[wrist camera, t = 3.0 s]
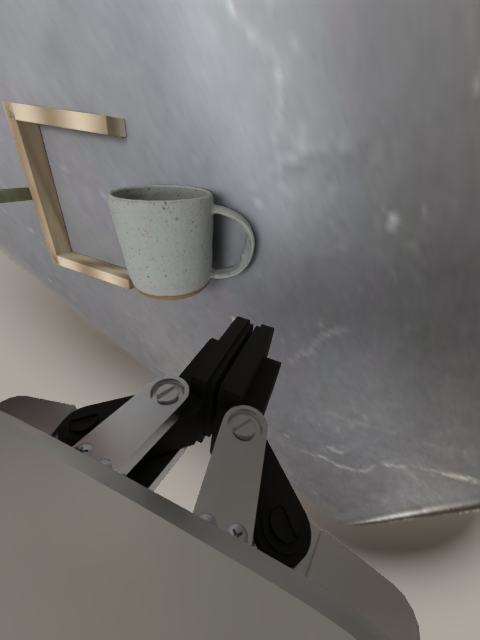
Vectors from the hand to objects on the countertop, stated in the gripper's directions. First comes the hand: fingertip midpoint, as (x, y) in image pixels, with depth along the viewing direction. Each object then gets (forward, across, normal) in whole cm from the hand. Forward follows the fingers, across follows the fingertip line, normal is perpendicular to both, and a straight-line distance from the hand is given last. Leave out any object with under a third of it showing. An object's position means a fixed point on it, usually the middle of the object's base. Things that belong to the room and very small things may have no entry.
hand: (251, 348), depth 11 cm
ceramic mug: (+13, +9, 0) cm, 16 cm away
